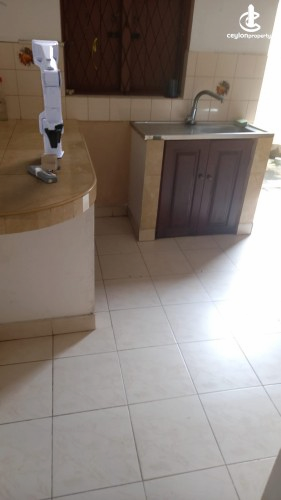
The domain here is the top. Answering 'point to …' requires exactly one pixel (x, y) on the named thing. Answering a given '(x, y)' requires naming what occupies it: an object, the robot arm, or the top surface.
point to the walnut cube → (49, 161)
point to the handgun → (43, 173)
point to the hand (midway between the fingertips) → (55, 145)
